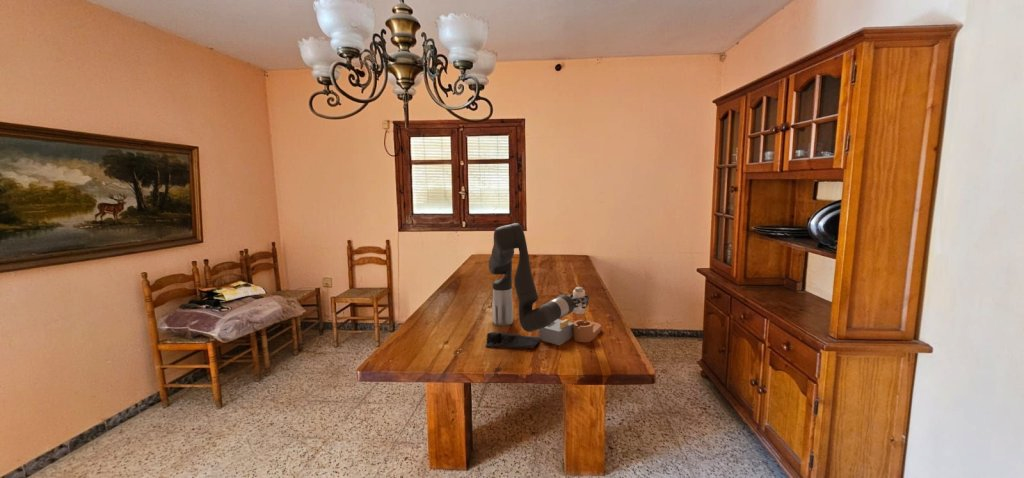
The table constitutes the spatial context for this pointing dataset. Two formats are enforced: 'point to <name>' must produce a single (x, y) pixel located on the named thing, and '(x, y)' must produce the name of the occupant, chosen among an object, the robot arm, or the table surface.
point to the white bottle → (577, 293)
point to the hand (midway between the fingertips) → (581, 296)
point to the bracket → (585, 330)
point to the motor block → (557, 332)
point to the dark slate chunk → (511, 340)
